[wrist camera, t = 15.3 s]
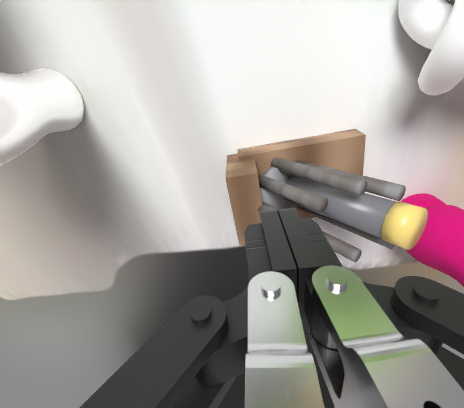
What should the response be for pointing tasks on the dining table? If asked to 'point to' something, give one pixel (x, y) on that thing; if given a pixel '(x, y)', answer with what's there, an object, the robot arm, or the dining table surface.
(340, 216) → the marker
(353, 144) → the knife block
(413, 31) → the white knot
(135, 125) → the dining table surface
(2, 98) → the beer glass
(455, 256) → the pepper mill
